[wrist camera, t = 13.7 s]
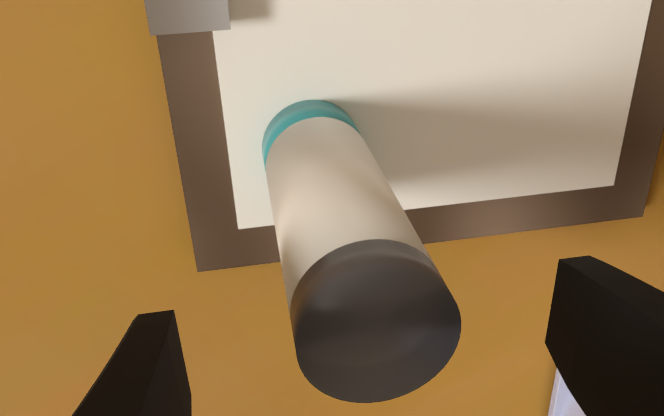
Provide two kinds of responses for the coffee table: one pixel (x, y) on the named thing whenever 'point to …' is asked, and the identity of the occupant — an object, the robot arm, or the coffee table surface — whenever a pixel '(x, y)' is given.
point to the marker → (352, 262)
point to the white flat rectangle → (438, 90)
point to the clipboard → (429, 223)
